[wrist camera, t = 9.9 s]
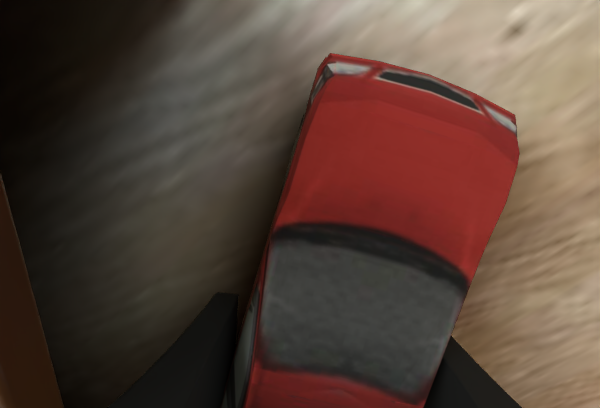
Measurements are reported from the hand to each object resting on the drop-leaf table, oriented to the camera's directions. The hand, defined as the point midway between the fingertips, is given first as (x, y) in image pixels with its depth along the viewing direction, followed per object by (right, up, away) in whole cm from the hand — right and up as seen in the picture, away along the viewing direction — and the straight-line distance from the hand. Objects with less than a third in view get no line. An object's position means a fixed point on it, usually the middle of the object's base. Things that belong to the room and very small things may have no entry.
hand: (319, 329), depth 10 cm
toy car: (0, +1, +2) cm, 2 cm away
